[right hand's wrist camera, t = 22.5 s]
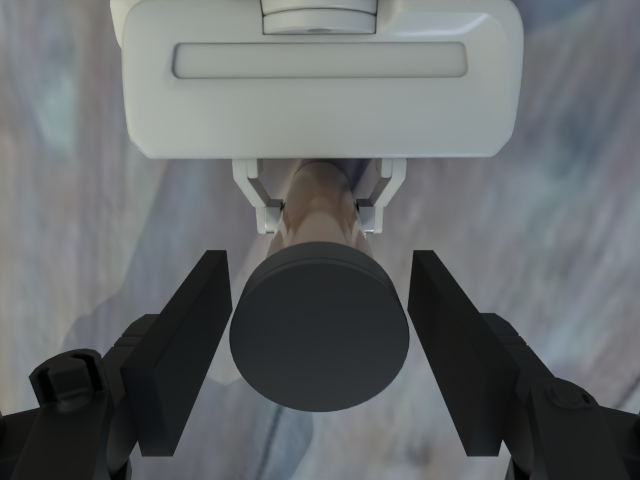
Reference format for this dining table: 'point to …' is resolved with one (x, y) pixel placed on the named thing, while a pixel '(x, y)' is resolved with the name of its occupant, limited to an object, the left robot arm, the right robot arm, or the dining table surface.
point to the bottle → (319, 211)
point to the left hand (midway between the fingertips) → (320, 230)
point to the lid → (319, 328)
